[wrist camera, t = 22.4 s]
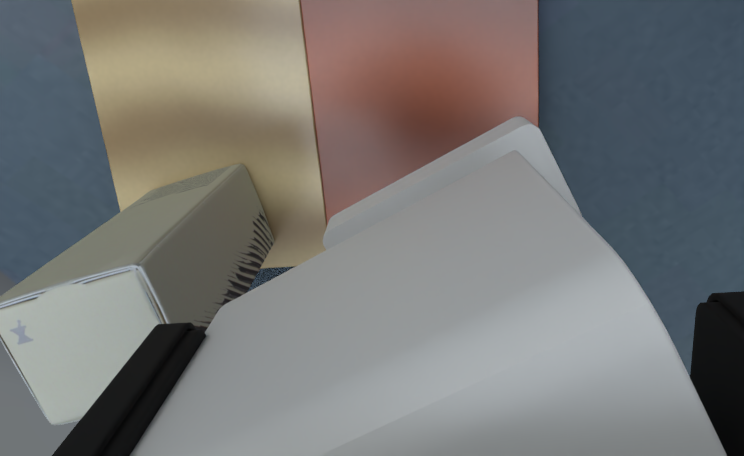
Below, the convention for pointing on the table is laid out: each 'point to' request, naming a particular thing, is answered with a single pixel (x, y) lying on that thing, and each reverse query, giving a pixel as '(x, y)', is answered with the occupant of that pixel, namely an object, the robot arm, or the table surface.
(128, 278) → the box
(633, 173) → the table surface
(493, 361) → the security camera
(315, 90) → the sorting board
